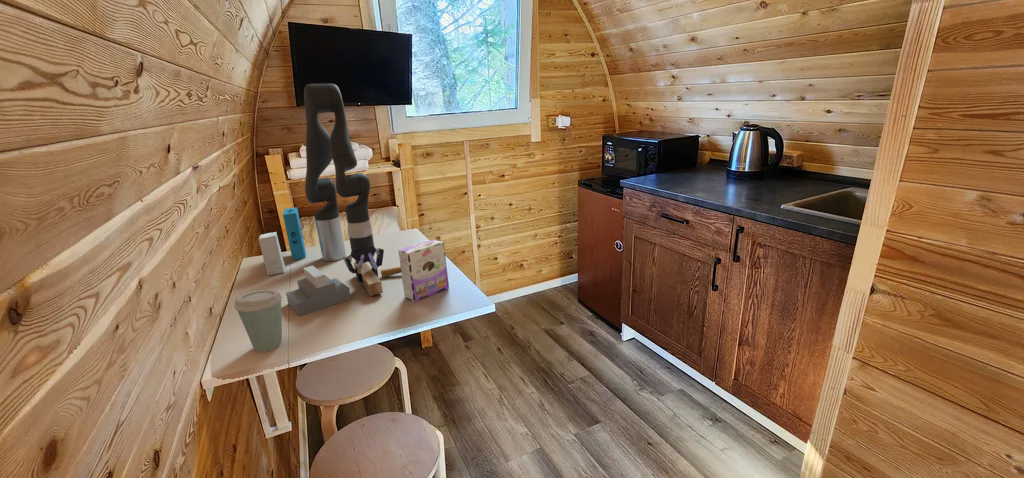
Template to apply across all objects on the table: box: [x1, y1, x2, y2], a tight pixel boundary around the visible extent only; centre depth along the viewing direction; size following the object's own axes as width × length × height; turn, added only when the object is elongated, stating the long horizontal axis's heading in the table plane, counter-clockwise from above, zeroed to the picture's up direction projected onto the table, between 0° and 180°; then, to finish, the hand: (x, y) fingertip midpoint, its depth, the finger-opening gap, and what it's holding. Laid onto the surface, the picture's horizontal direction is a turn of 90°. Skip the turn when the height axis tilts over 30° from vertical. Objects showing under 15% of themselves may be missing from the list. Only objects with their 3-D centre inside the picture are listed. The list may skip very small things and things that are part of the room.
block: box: [282, 207, 307, 261], centre depth 185 cm, size 12×5×20 cm, turn 23°
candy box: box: [398, 239, 450, 303], centre depth 142 cm, size 14×6×16 cm, turn 134°
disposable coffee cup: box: [234, 289, 283, 353], centre depth 114 cm, size 11×11×15 cm
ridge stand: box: [285, 265, 352, 317], centre depth 141 cm, size 12×16×10 cm
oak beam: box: [353, 262, 384, 297], centre depth 153 cm, size 4×24×4 cm, turn 30°
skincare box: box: [258, 231, 286, 276], centre depth 170 cm, size 8×6×15 cm
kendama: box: [380, 266, 402, 279], centre depth 161 cm, size 8×6×18 cm
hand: (367, 280), depth 153 cm, fingers closed on oak beam, 4 cm apart
